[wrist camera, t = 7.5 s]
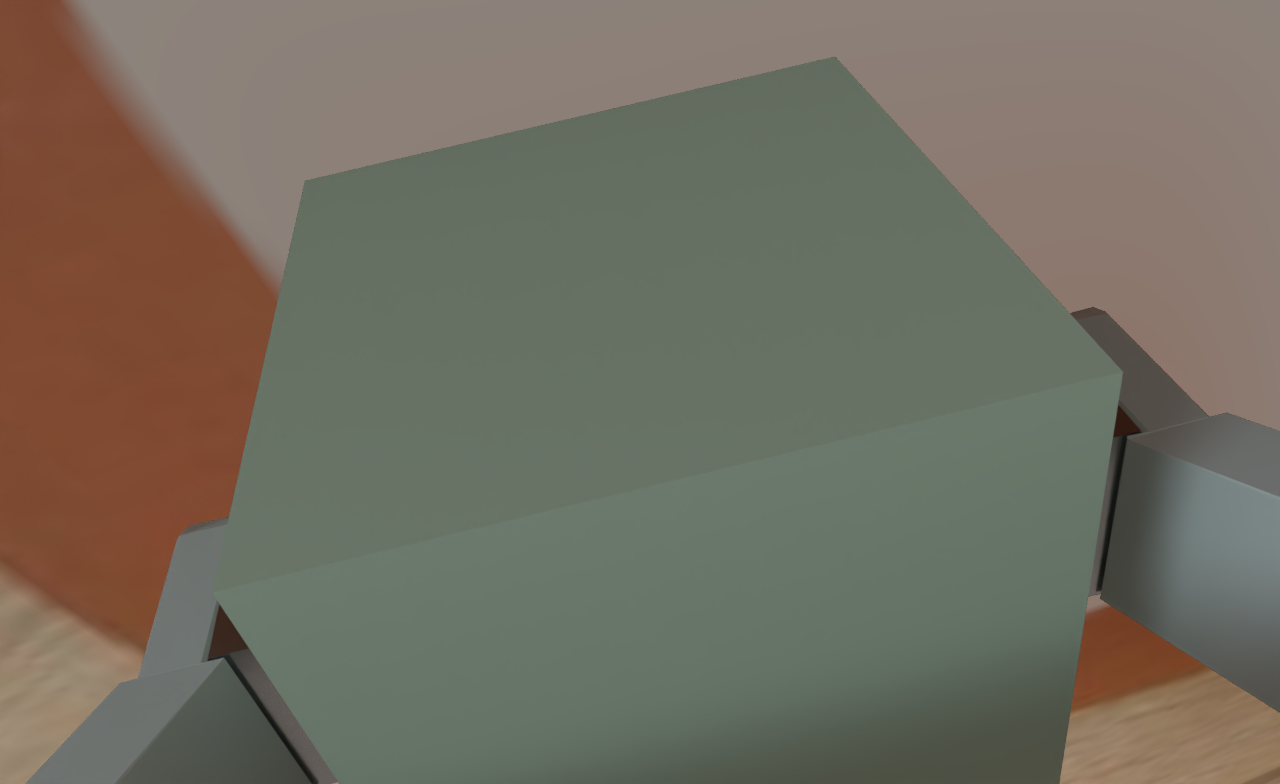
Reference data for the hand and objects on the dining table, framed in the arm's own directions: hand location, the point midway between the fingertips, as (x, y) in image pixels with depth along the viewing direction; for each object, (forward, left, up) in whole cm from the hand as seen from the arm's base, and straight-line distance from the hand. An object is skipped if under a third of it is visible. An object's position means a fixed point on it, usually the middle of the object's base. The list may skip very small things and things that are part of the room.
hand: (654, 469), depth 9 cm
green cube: (0, 0, -2) cm, 2 cm away
